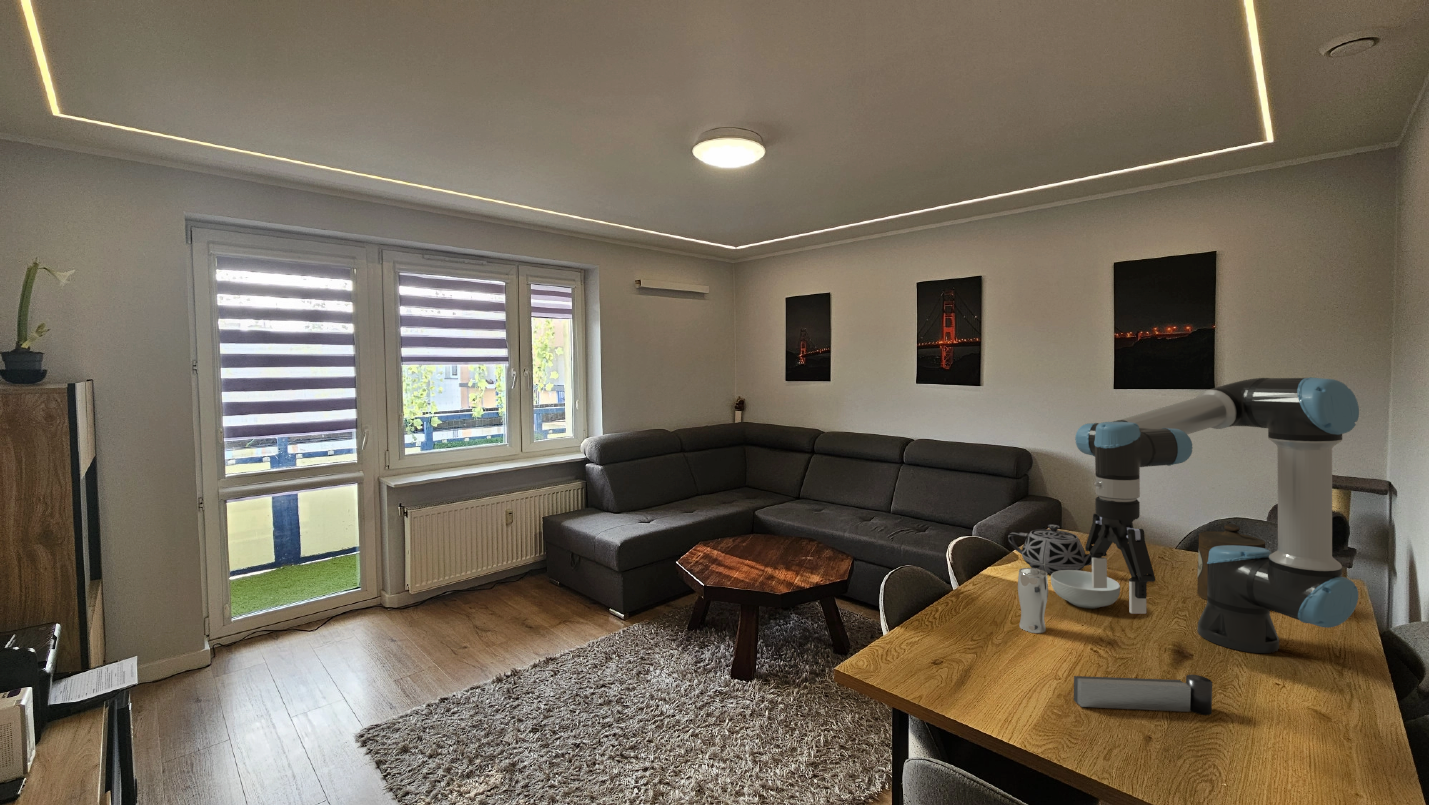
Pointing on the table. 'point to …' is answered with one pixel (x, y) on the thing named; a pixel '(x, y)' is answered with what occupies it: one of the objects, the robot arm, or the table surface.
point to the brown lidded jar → (1219, 539)
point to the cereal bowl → (1083, 589)
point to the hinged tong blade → (1134, 694)
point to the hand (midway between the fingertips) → (1117, 599)
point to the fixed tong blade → (1198, 684)
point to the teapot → (1052, 550)
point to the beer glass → (1032, 599)
